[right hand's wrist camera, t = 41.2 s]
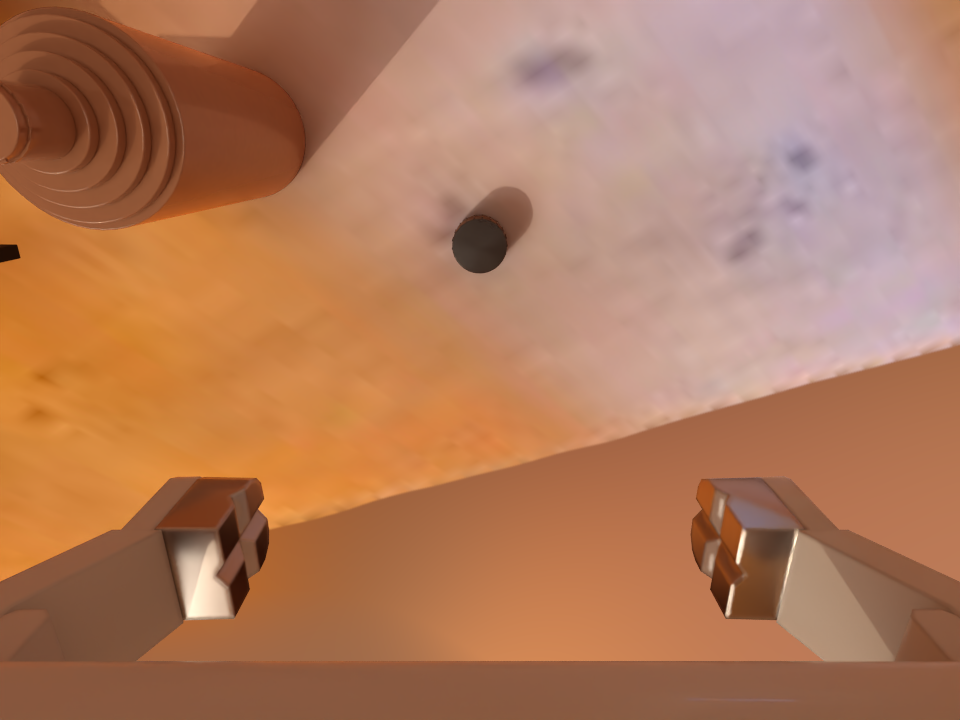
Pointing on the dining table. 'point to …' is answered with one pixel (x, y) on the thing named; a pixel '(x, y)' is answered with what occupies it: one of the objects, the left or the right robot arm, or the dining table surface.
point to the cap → (479, 244)
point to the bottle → (135, 123)
